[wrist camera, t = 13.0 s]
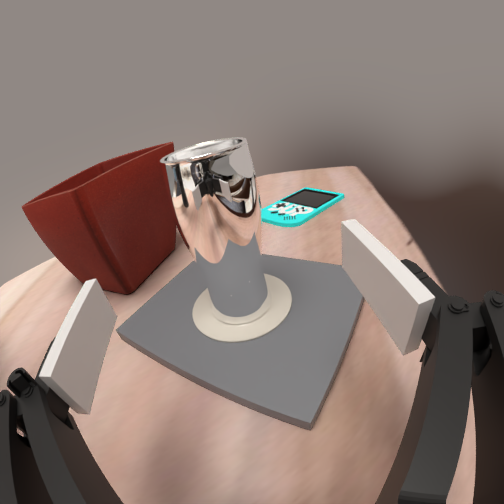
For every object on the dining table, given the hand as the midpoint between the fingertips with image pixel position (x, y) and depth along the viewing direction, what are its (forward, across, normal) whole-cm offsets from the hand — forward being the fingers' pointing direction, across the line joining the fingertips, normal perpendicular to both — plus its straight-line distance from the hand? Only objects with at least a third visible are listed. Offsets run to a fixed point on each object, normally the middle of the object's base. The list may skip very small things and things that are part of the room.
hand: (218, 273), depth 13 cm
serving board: (+10, 0, -12) cm, 15 cm away
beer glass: (+9, 0, -10) cm, 14 cm away
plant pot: (+26, -18, -12) cm, 34 cm away
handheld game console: (+34, +13, -13) cm, 39 cm away
